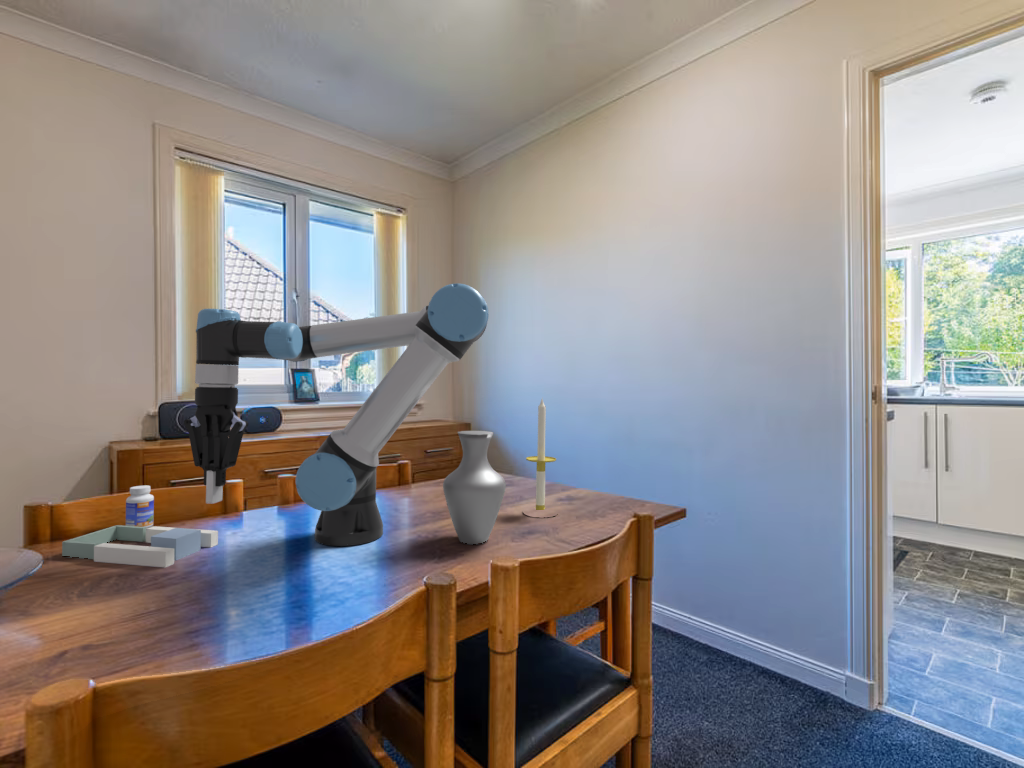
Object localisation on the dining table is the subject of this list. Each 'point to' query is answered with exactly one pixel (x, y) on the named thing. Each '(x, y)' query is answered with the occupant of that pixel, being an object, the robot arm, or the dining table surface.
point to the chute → (146, 550)
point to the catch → (101, 540)
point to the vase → (474, 490)
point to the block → (179, 541)
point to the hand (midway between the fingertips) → (214, 501)
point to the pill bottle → (140, 507)
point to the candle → (541, 458)
